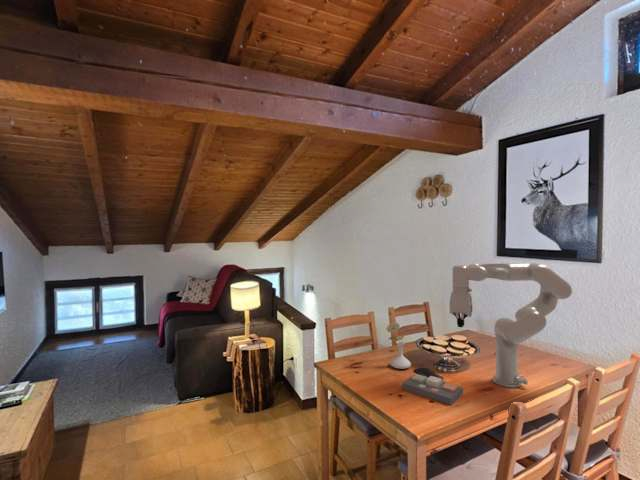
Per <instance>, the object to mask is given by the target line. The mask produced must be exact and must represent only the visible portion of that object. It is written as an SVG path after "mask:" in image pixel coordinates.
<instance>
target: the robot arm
mask: <svg viewBox="0 0 640 480" xmlns="http://www.w3.org/2000/svg"><path fill="white" fill-rule="evenodd" d="M486 279H494V280H495V279H496V280H499V281H505V282H506V281H507V282H515V281H516V282H517V281H518V282H519V281H521V282H522V281H527V282H528V281H533V282H536V283H538V284H539V285H540V287H539V288H540V289H539V290H540V291H539V293H538V294H539V295H538V297H536V298H535V299H534V300H532V301H531V302H529V303H527V304H526V305H524V306H522V307H521V308H519V309H518V310H516V312H515V314H514V317H515V321H514V320H513V319H511V318H508V317H501V318H499V319H497V320H496V322H495V324H494V335H495V375H493V376H492V379H491V380H492V382H493V383H495V384H496V385H499V386H501V387H505V388H515V389H516V388H519V387H521V385H522V384H523V385H526V386H527V385H528V384H529V380H527V379H526V378H523V377H521V376H520V373H518V370H519V369H518V368H519V367H518V366H519V363H518V360H519V358H518V357H519V349H518V346H519V345H518V344H521V343H523V342H525V341H527V340H529V339H530V338H532V337H534V336H536V335H537V334H539V333H541V331H543V330H544V329H545V328H546V325H547V318H546V317H547V316H548V315H549V314H551V313H552V312H554V310H555V309H556V307H557V306H558V301H559V300H566V299H568V298H570V297H571V296H572V293H573V290H572V289H573V288H572V286H571V284H570V283H569V282H567V281H566V279H564V278H562V277H561V276H560V275H559V274H558V273H556V272H555V271H554V270H552V269H551V268H549V266H547V265H545V264H542V263H536V262H524V263H523V262H522V263H521V262H519V263H517V262H515V263H509V262H507V263H472V264H469V265H463V264H460V265H454V266H453V267H452V291H451V293H450V298H449V314H451V315H453V316H454V317H455V319H456V324H457V327H458V328H463V327H464V326H465V319H466V318H470V317H472V316H473V309H474V307H473V299H472V295H471V294H472V291H473V289H472V288H470V281H474V282H483V281H485V280H486Z"/></svg>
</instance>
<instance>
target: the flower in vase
mask: <svg viewBox="0 0 640 480" xmlns="http://www.w3.org/2000/svg"><path fill="white" fill-rule="evenodd" d="M400 328H401V326H400V323H399V322H397V321H393V322H391V323H389V324H388V325H387V327H386V331H387V332H388V333H390V334H391V333H394V334H395V336H390V337H389V338H388V340H391V341H394V340H395V339H396V341H395V343H396V346H397V355H396V356H395V357H393V358H391V360H389V361H390V362H389V364H390V366H391V367H392V368H395V369H399V370H400V369H401V370H406V369H408V368H410V367H411V366H412V363H411V361H410V360H409V359H407V358H406V357H405V356H404V354H403V347H404V345H405V343H406V341H403V339H404V337H405V334H403V335H401V336H399V337H397V334H396V332H398V330H399V329H400Z"/></svg>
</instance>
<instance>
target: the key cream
mask: <svg viewBox="0 0 640 480" xmlns="http://www.w3.org/2000/svg"><path fill="white" fill-rule="evenodd" d="M442 381H443V380H442V379H441V378H437V377H434V376H430V377H429V378H427V379H426V384H427V385H430V386H433V387H436V388H438V387H439V386H441V385H442Z"/></svg>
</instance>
